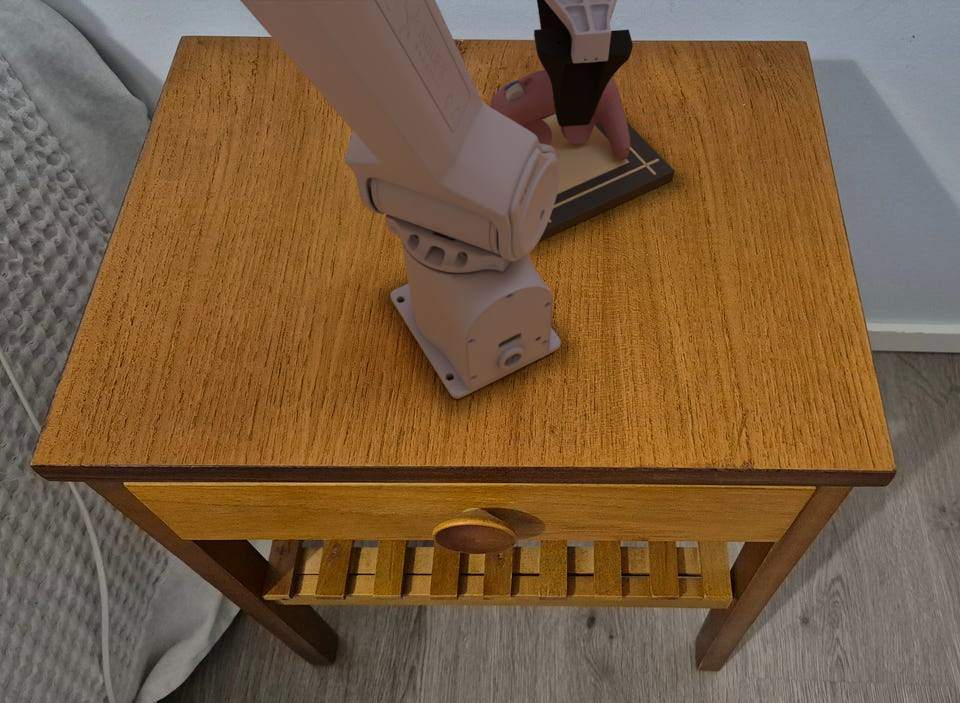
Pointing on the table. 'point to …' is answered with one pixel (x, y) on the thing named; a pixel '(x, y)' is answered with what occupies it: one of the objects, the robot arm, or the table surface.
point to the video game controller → (536, 100)
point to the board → (600, 175)
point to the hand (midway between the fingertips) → (566, 84)
